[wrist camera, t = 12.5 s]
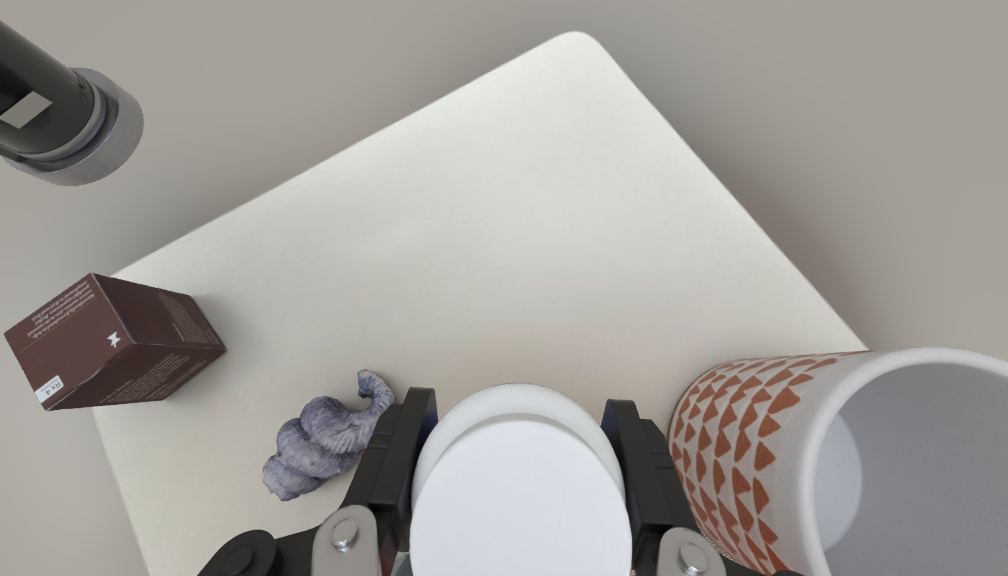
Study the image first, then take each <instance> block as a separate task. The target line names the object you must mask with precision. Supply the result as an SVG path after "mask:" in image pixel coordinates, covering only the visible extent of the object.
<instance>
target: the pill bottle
mask: <svg viewBox="0 0 1008 576" xmlns="http://www.w3.org/2000/svg"><path fill="white" fill-rule="evenodd" d="M411 508H412V521H411V527H410V560H411V566H412V572H413V576H630V571H631V561H632V536H631V529H630V523H629V517H628V513H627V510H626V495H625V486H624V481H623V476H622V472H621V469H620V465H619V462H618V460H617V457H616V455H615V453H614V450H613V448H612V446H611V444H610V442H609V440H608V438H607V436H606V435H605V433H604V432H603V430H602V429H601V427H600V426H599V425H598V424H597V422H596V421H595V420H594V419H593V418H592V416H591V415H590V414H589V413H588V412H587V411H586V410H584V409H583V408H582V407H581V406H580V405H578V404H577V403H576V402H574V401H573V400H571V399H570V398H568V397H567V396H565V395H563V394H561V393H559V392H556V391H554V390H552V389H549V388H546V387H543V386H539V385H534V384H527V383H508V384H502V385H496V386H493V387H489V388H486V389H484V390H481V391H478V392H476V393H474V394H472V395H470V396H469V397H467V398H465V399H464V400H462V401H461V402H459V403H458V404H457V405H455V406H454V407H453V408H452V409H451V410H450V411H449V412H447V413H446V414H445V416H444V417H443V418H442V419H441V420H440V421H439V422H438V424H437V425H436V426H435V428H434V429H433V430H432V432H431V433H430V435H429V437H428V438H427V440H426V442H425V444H424V446H423V448H422V451H421V453H420V456H419V458H418V461H417V465H416V468H415V472H414V477H413V483H412V494H411Z"/></svg>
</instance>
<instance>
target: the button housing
mask: <svg viewBox="0 0 1008 576" xmlns="http://www.w3.org/2000/svg"><path fill="white" fill-rule="evenodd" d="M392 576H413V572H412V566H411V561H410V559H409V556H408V554H406V555H404V556H403V557H401V558H399V559H398V560H396V561H395V562H394V566H393V570H392Z"/></svg>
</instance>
